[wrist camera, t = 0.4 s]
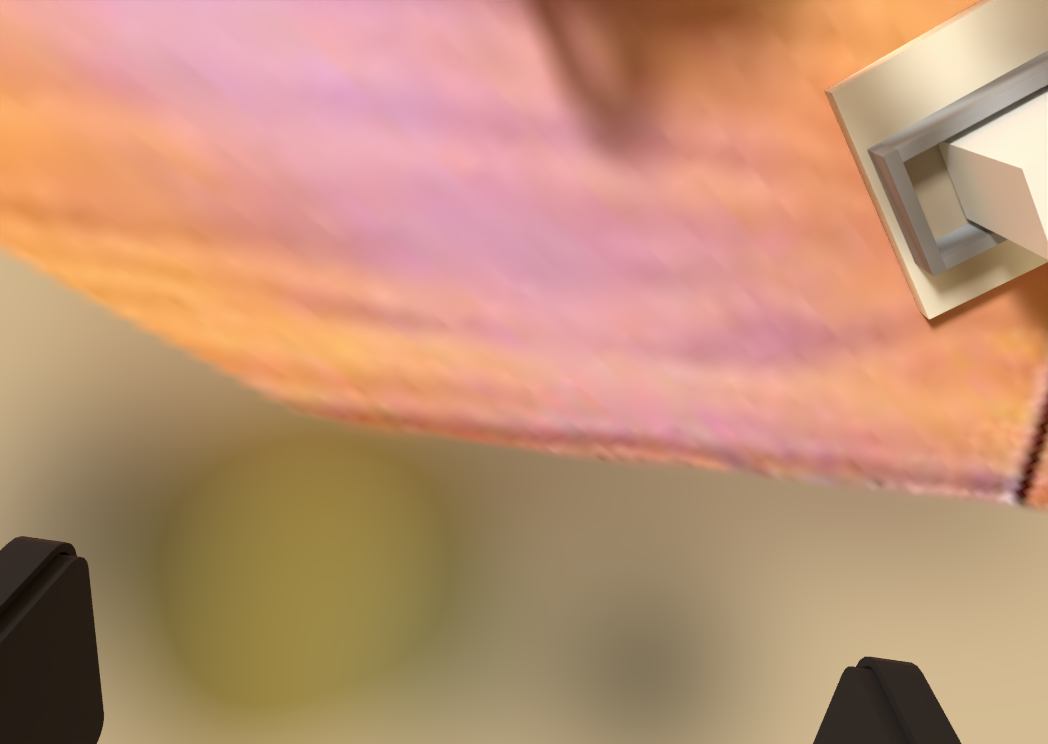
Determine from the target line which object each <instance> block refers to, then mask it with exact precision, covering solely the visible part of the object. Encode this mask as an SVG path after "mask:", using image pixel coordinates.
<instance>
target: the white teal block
mask: <svg viewBox="0 0 1048 744" xmlns="http://www.w3.org/2000/svg"><path fill="white" fill-rule="evenodd" d="M938 146H939V149H940V151H941V154H942V156H943V159H944V162H945V164H946V167H947V169H948V172H949V174H950V177H951V180H952V182H953V185H954V187H955V190H956V192H957V195H958V198H959V200H960V203H961V205H962V208H963V210H964V213H965V216H966V218H967V219H969V220H971V221H973V222H975V223H977V224H979V225H981V226H983V227H985V228H987V229H989V230H991V231H993V232H995V233H997V234H999V235H1000V236H1002V237H1004V238H1006V239H1008V240H1010V241H1012V242H1014V243H1016V244H1018V245H1020V246H1022V247H1024V248H1026V249H1028V250H1030V251H1032V252H1034V253H1036V254H1038V255H1040V256H1042V257H1044V258H1046V259H1048V85H1046V86H1044V87H1042V88H1040V89H1038V90H1037V91H1035V92H1033V93H1031V94H1029V95H1027V96H1025V97H1024V98H1022V99H1020V100H1018V101H1016V102H1014V103H1012V104H1011V105H1009V106H1007V107H1005V108H1003V109H1001V110H999V111H998V112H996V113H994V114H992V115H990V116H988V117H986V118H985V119H983V120H981V121H979V122H977V123H975V124H973V125H972V126H970V127H968V128H966V129H964V130H962V131H960V132H959V133H957V134H955V135H953V136H951V137H949V138H947V139H946V140H944V141H942V142H940V143H938Z"/></svg>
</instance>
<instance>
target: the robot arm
mask: <svg viewBox="0 0 1048 744" xmlns="http://www.w3.org/2000/svg"><path fill="white" fill-rule="evenodd" d="M88 569H89V568H88V564H87V561H86V560H85V558H82V557H77V555H76V551H75V548H74V547H73V546H72V544H70V543H66V542H59V541H52V540H45V539H38V538H31V537H24V536H21V537H17V538H15V539H13V540H12V541H10V542H9V543H8V544H7V545H6V546H5V547H4V548H2V550H0V744H97V742H98V739H99V737H100V734H101V731H102V727H103V721H104V711H103V702H102V692H101V682H100V673H99V664H98V654H97V644H96V635H95V627H94V626H95V625H94V616H93V608H92V607H93V606H92V597H91V588H90V578H89V570H88ZM813 744H961V742H960V740H959V738H958V737H957V735H956V733H955V731H954V729H953V728H952V726H951V724H950V722H949V721H948V718H947V717H946V715H945V713H944V711H943V709H942V708H941V706H940V704H939V702H938V700H937V699H936V697H935V695H934V694H933V691H932V689H931V688H930V686H929V684H928V682H927V680H926V679H925V677H924V675H923V673H922V672H921V671H920V669H919V668H918V666H916V665H914V664H913V663H910V662H903V661H896V660H889V659H882V658H875V657H864V658H862V659H861V660H860V661H859V662H858V664H857V666H856V667H847V668H846V669H845V670H844V672H843V674H842V676H841V678H840V681H839V683H838V686H837V688H836V690H835V692H834V695H833V697H832V700H831V702H830V704H829V707H828V709H827V712H826V714H825V716H824V719H823V721H822V723H821V726H820V729H819V731H818V733H817V735H816V738H815V740H814V743H813Z"/></svg>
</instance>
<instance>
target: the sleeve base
mask: <svg viewBox="0 0 1048 744" xmlns="http://www.w3.org/2000/svg"><path fill="white" fill-rule="evenodd" d="M1046 85H1048V0H981V1H979V2H978V3H976V4H974V5H972V6H971V7H969V8H967V9H966V10H964V11H962V12H960V13H959V14H957V15H955V16H953V17H952V18H950V19H948V20H946V21H945V22H943V23H941V24H939V25H938V26H936V27H934V28H933V29H931V30H929V31H927V32H926V33H924V34H922V35H920V36H919V37H917V38H915V39H913V40H912V41H910V42H908V43H907V44H905V45H903V46H901V47H900V48H898V49H896V50H894V51H893V52H891V53H889V54H887V55H886V56H884V57H882V58H880V59H879V60H877V61H875V62H874V63H872V64H870V65H868V66H867V67H865V68H863V69H861V70H860V71H858V72H856V73H854V74H853V75H851V76H849V77H848V78H846V79H844V80H842V81H841V82H839V83H837V84H835V85H834V86H832V87H830V88H828V89H827V90H825V93H826V95H827V97H828V100H829V102H830V104H831V107H832V109H833V111H834V114H835V116H836V118H837V121H838V123H839V125H840V128H841V130H842V132H843V134H844V137H845V139H846V141H847V144H848V146H849V148H850V151H851V153H852V155H853V158H854V160H855V162H856V165H857V167H858V169H859V171H860V174H861V176H862V178H863V181H864V183H865V185H866V188H867V190H868V192H869V195H870V197H871V199H872V202H873V204H874V206H875V208H876V211H877V213H878V215H879V218H880V220H881V222H882V225H883V227H884V229H885V232H886V234H887V236H888V239H889V241H890V243H891V246H892V248H893V250H894V252H895V255H896V257H897V259H898V262H899V264H900V266H901V269H902V271H903V273H904V276H905V278H906V280H907V283H908V285H909V287H910V289H911V292H912V294H913V296H914V299H915V301H916V303H917V306H918V308H919V310H920V312H921V313H922V314H923V315H924V316H925V317H927V318H928V319H931V318H934V317H936V316H938V315H940V314H942V313H944V312H946V311H948V310H950V309H952V308H954V307H956V306H958V305H960V304H962V303H964V302H967V301H969V300H971V299H973V298H975V297H977V296H979V295H981V294H983V293H985V292H987V291H989V290H991V289H993V288H995V287H998V286H1000V285H1002V284H1004V283H1006V282H1008V281H1010V280H1012V279H1014V278H1016V277H1018V276H1020V275H1022V274H1024V273H1026V272H1029V271H1031V270H1033V269H1035V268H1037V267H1039V266H1041V265H1043V264H1045V263H1047V262H1048V259H1046V258H1044V257H1042V256H1040V255H1038V254H1036V253H1034V252H1032V251H1030V250H1028V249H1026V248H1024V247H1022V246H1020V245H1018V244H1016V243H1014V242H1012V241H1010V240H1008V239H1006V238H1004V237H1002V236H1000V235H999V234H997V233H995V232H993V231H991V230H989V229H987V228H985V227H983V226H981V225H979V224H977V223H975V222H973V221H971V220H969V219H967V218H966V216H965V213H964V210H963V208H962V205H961V203H960V200H959V198H958V195H957V192H956V190H955V187H954V185H953V182H952V180H951V177H950V174H949V172H948V169H947V167H946V164H945V162H944V159H943V156H942V154H941V151H940V149H939V146H938V143H940V142H942V141H944V140H946V139H947V138H949V137H951V136H953V135H955V134H957V133H959V132H960V131H962V130H964V129H966V128H968V127H970V126H972V125H973V124H975V123H977V122H979V121H981V120H983V119H985V118H986V117H988V116H990V115H992V114H994V113H996V112H998V111H999V110H1001V109H1003V108H1005V107H1007V106H1009V105H1011V104H1012V103H1014V102H1016V101H1018V100H1020V99H1022V98H1024V97H1025V96H1027V95H1029V94H1031V93H1033V92H1035V91H1037V90H1038V89H1040V88H1042V87H1044V86H1046Z"/></svg>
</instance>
